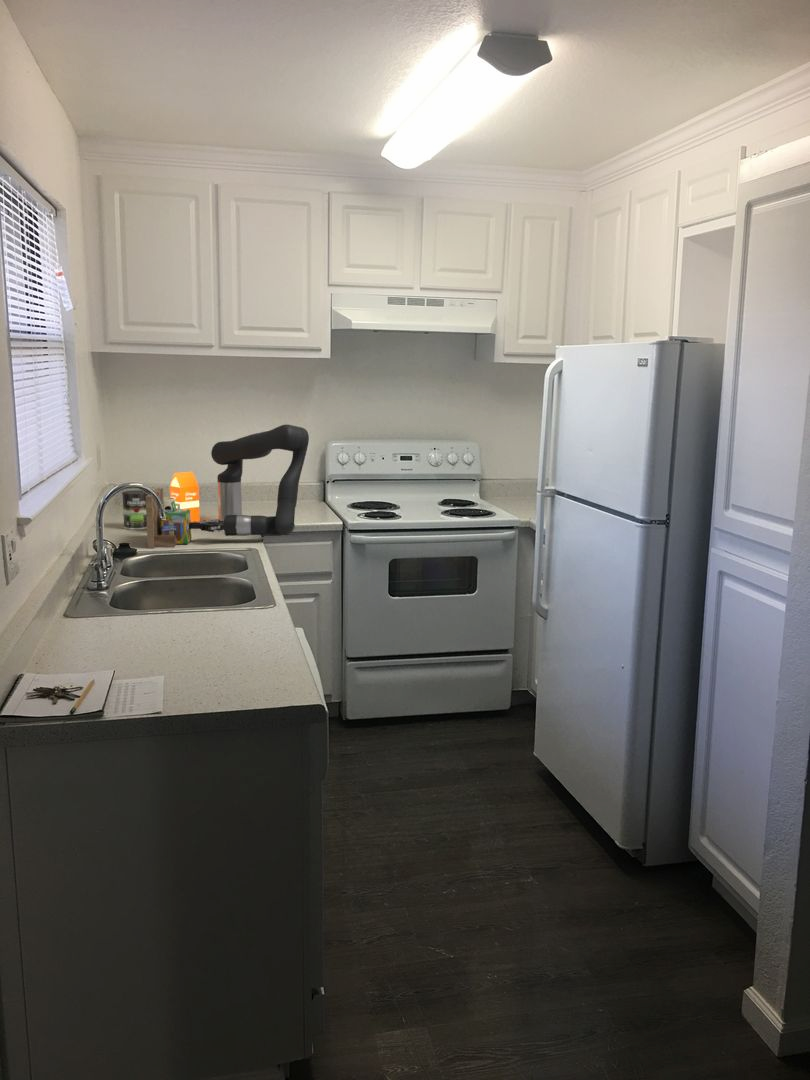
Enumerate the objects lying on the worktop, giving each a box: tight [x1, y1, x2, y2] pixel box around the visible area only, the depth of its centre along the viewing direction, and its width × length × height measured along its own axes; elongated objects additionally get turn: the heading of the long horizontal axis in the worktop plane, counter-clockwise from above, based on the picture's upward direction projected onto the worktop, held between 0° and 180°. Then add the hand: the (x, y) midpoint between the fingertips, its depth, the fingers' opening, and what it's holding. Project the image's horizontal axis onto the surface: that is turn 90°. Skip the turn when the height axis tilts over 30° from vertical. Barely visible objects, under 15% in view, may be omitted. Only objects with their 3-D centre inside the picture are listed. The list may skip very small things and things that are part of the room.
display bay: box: [146, 487, 177, 549], centre depth 308 cm, size 22×9×18 cm, turn 5°
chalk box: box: [161, 501, 192, 545], centre depth 308 cm, size 9×9×15 cm
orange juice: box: [169, 471, 201, 522], centre depth 352 cm, size 8×9×20 cm
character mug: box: [164, 496, 180, 510], centre depth 327 cm, size 11×7×13 cm, turn 90°
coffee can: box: [121, 489, 148, 531], centre depth 337 cm, size 10×10×14 cm
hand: (189, 525), depth 309 cm, fingers closed
